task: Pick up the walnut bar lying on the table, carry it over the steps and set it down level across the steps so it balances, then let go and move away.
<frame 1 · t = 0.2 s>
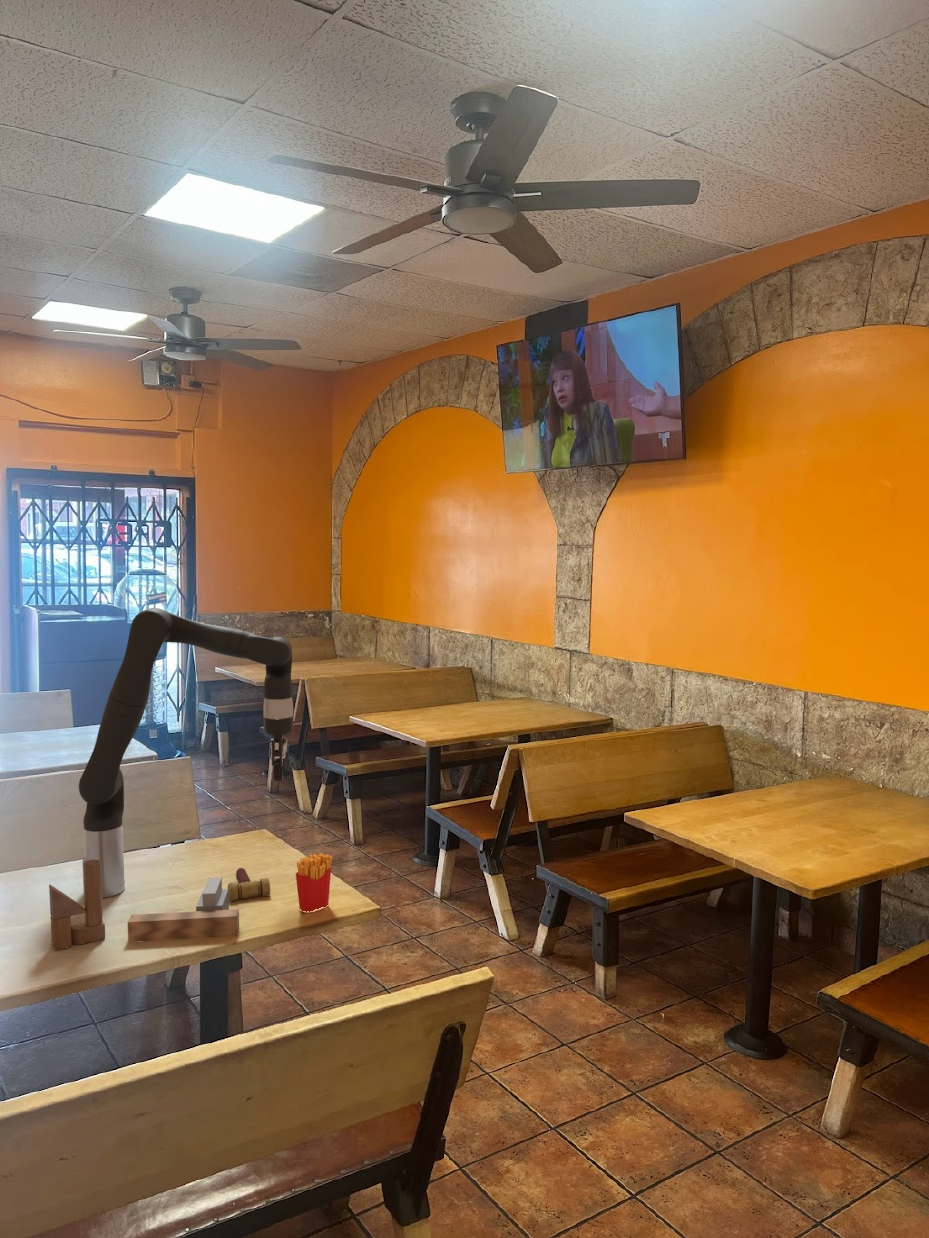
hand: (279, 776, 237), 29 cm above the table, tool pointing down, fingers open, 8 cm apart
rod: (184, 936, 209), on the table
gavel: (244, 887, 239), on the table
french fries: (314, 908, 225), on the table
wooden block: (78, 943, 206), on the table
steps: (213, 917, 219), on the table
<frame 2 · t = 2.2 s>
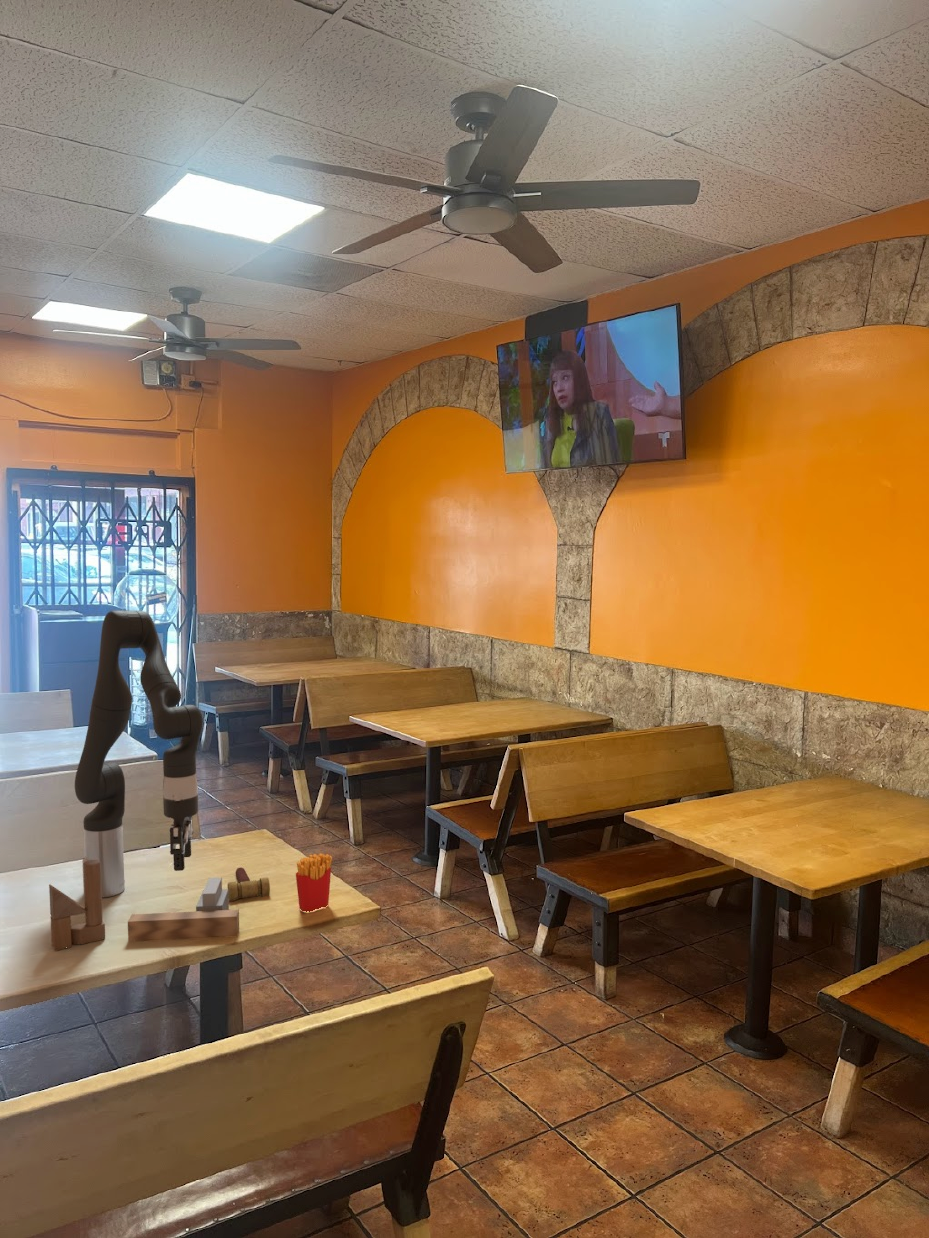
hand: (182, 863, 208), 17 cm above the table, tool pointing down, fingers open, 8 cm apart
nothing on the table moved.
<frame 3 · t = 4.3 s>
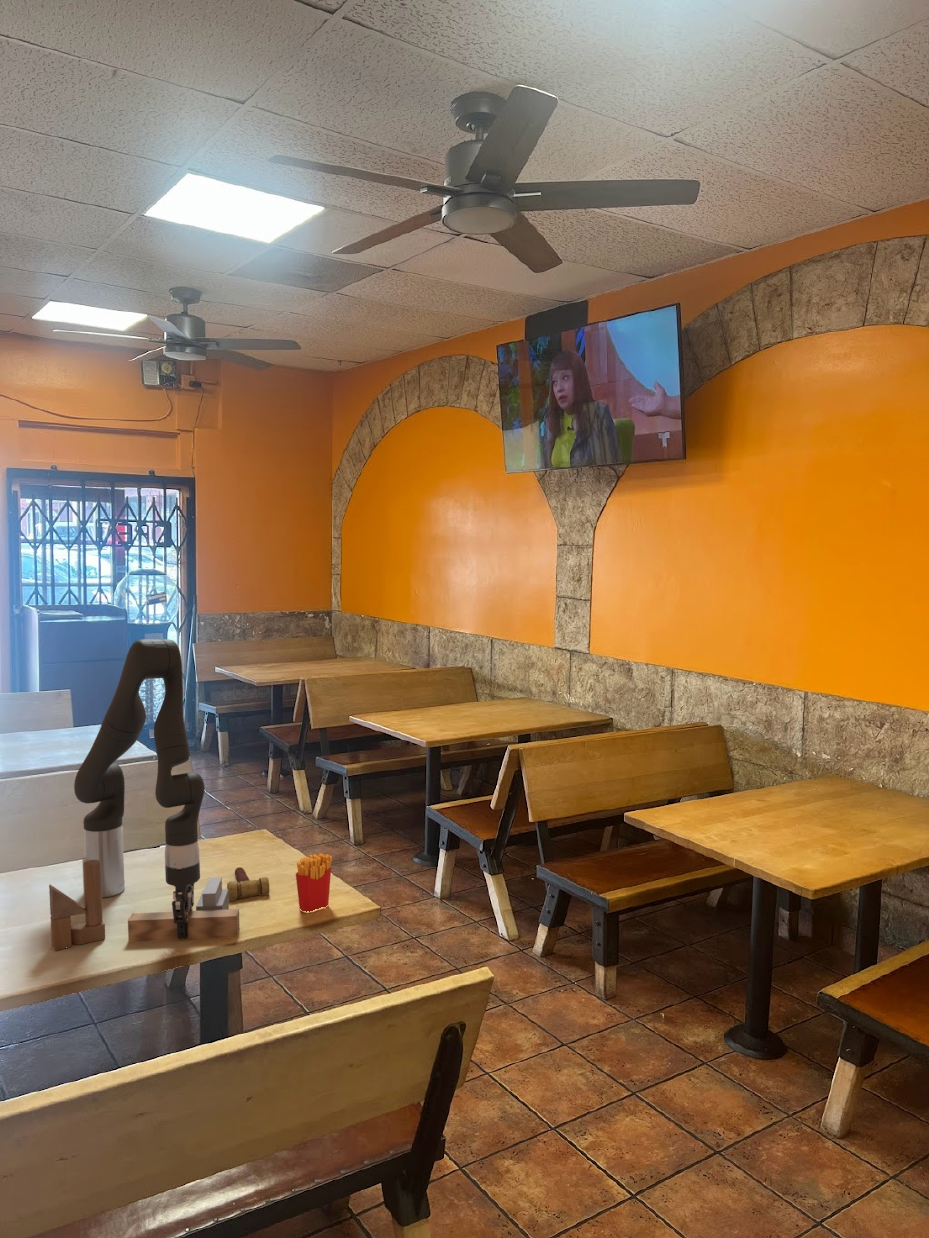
hand: (184, 933, 209), 1 cm above the table, tool pointing down, fingers closed on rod, 4 cm apart
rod: (184, 935, 209), on the table, touching gripper
everything else where it was.
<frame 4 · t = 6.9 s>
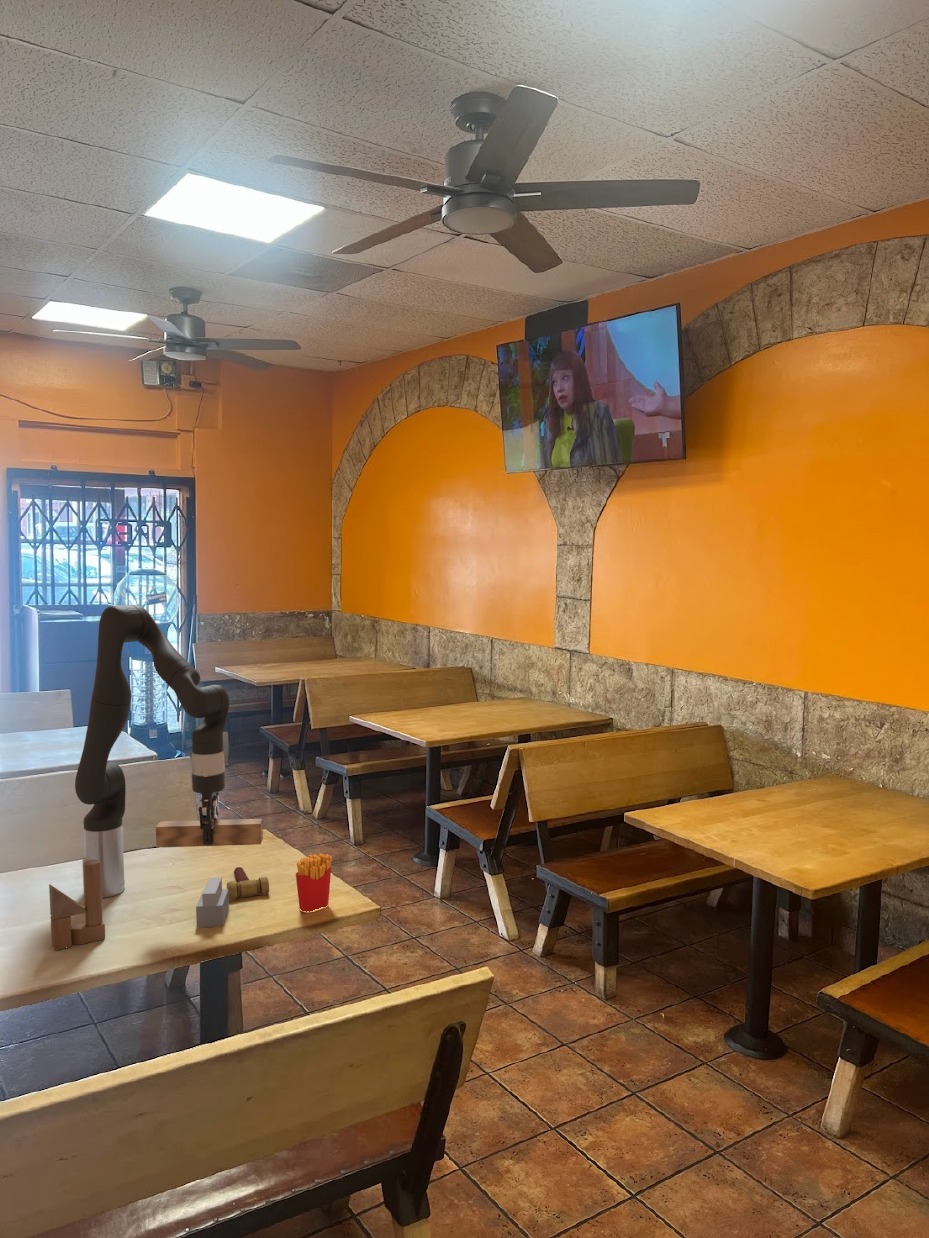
hand: (210, 840, 217), 19 cm above the table, tool pointing down, fingers closed on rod, 4 cm apart
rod: (210, 843, 217), point 18 cm above the table, touching gripper
everything else where it was.
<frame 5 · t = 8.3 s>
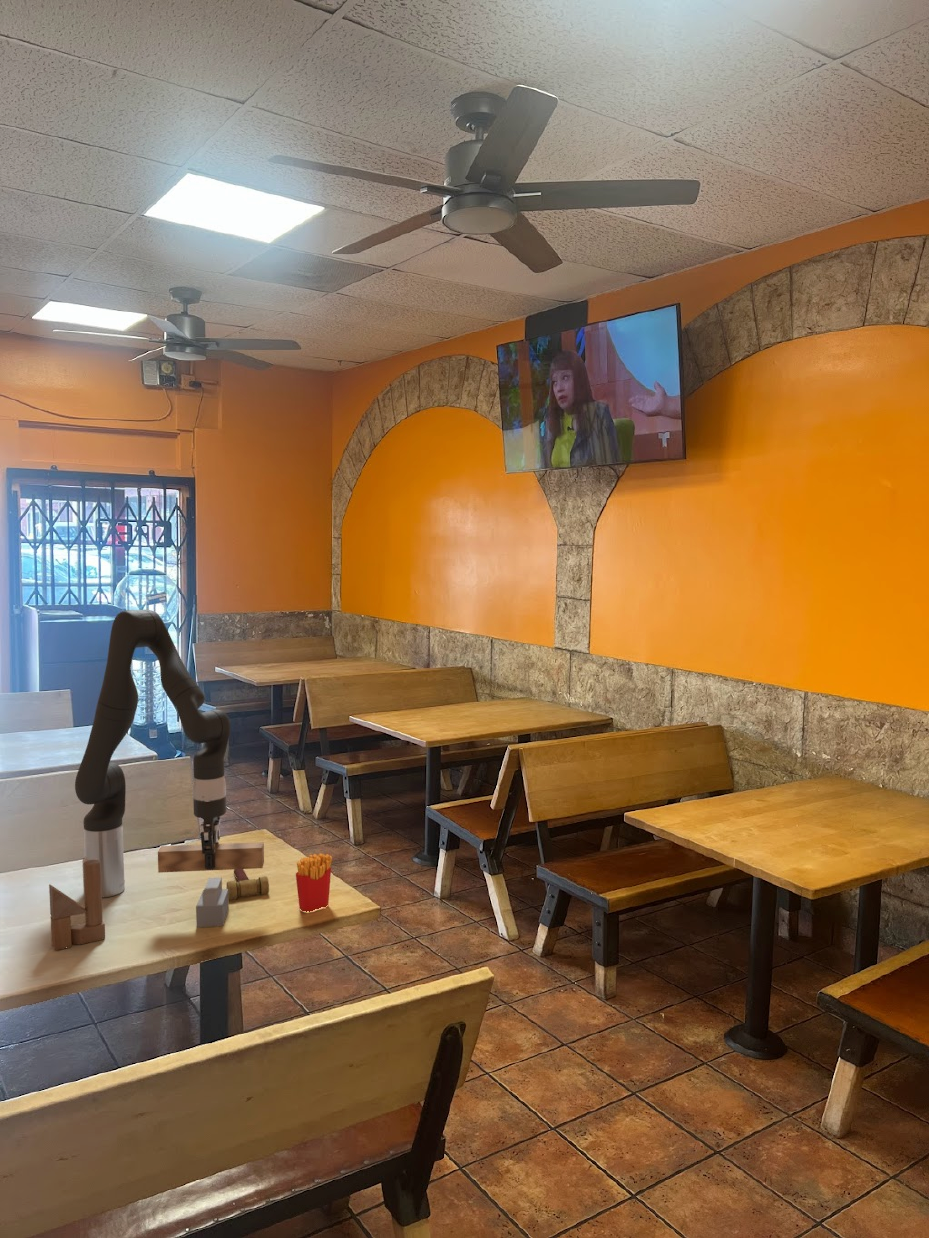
hand: (211, 864, 218), 13 cm above the table, tool pointing down, fingers closed on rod, 4 cm apart
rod: (212, 867, 218), point 12 cm above the table, touching gripper
when the fingers open (9 cm above the table, at t = 9.6 s): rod stays where it is, resting on steps.
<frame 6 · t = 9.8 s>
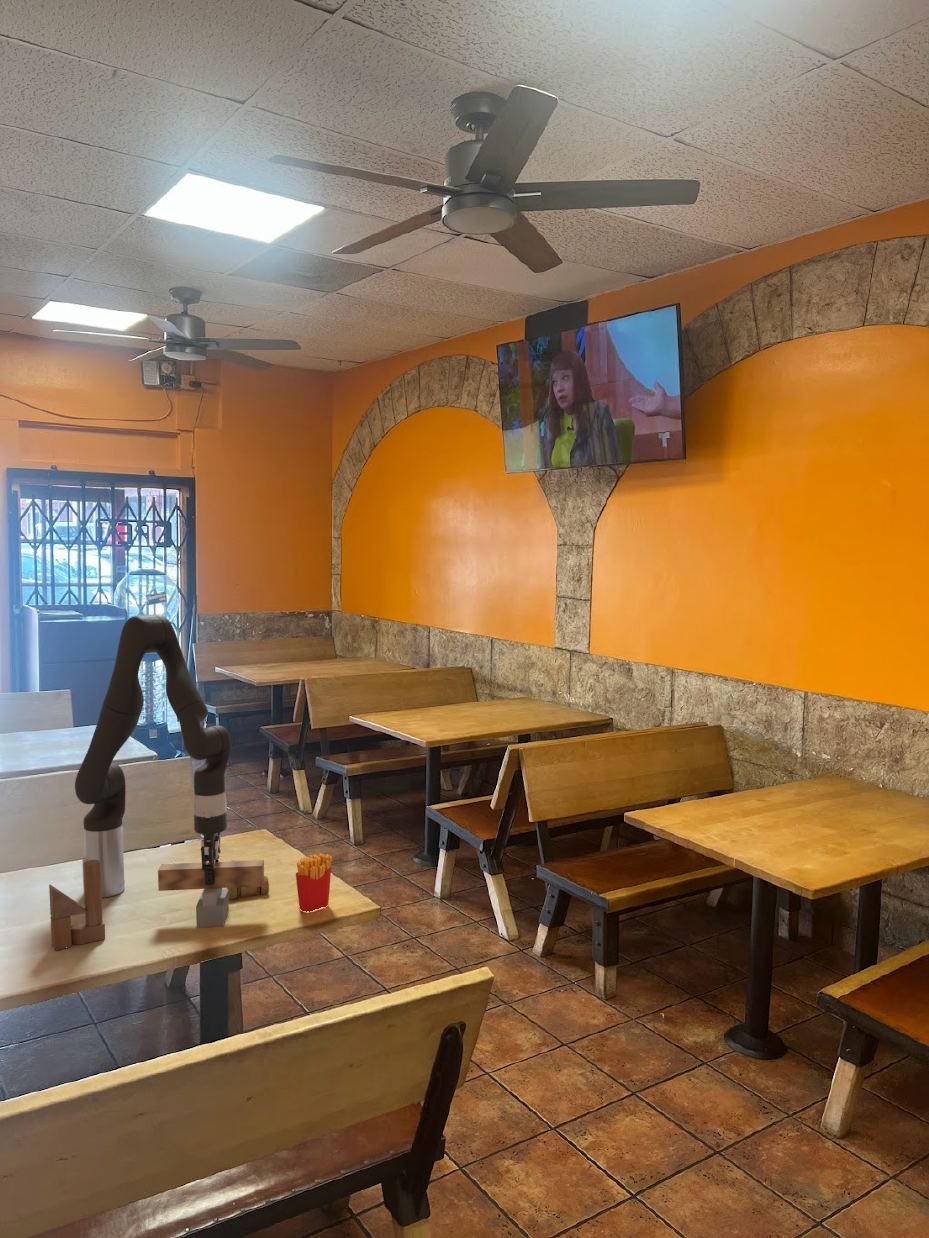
hand: (212, 879, 218), 9 cm above the table, tool pointing down, fingers open, 5 cm apart
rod: (212, 885, 218), point 8 cm above the table, touching steps
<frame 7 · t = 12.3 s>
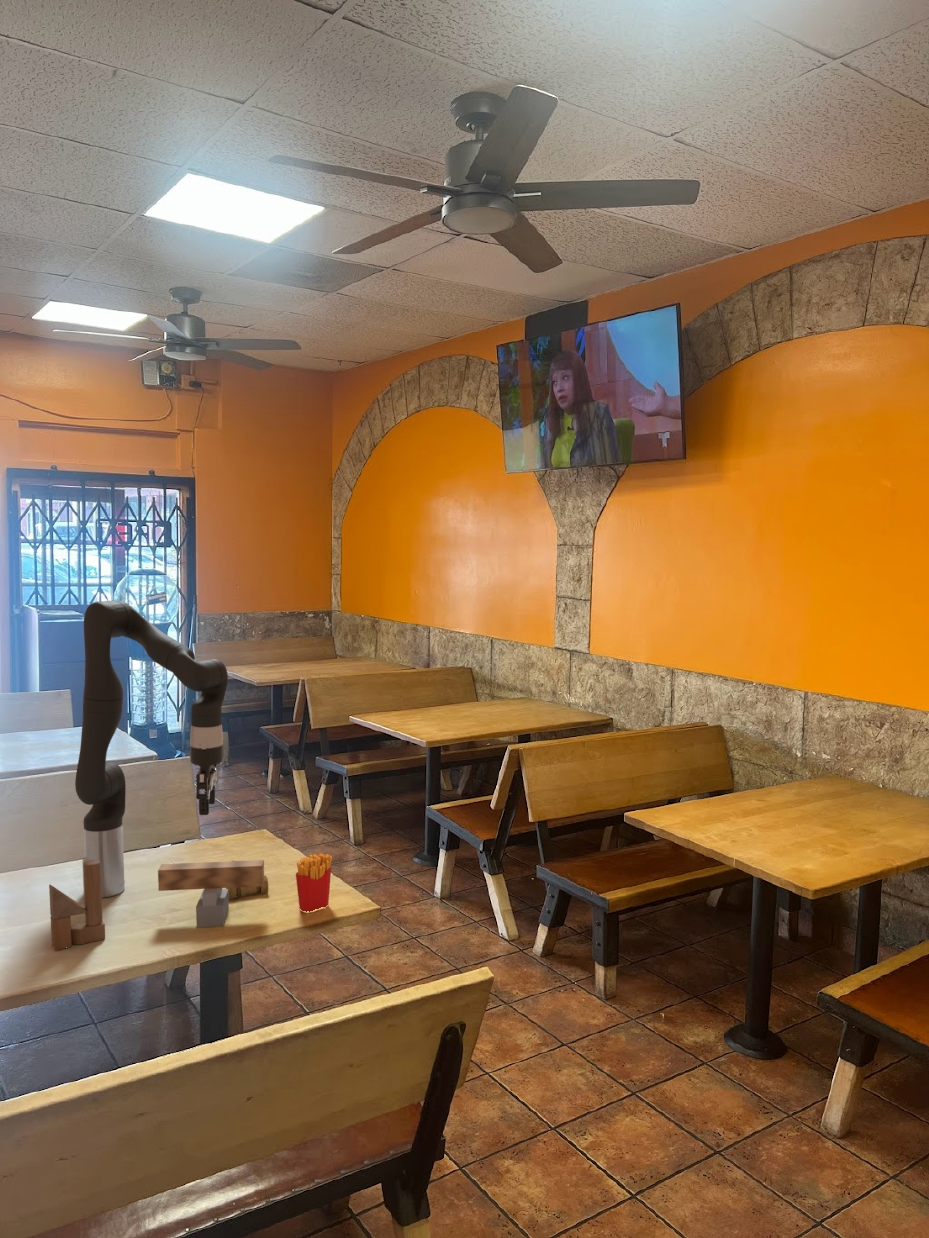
hand: (207, 809, 220), 26 cm above the table, tool pointing down, fingers open, 8 cm apart
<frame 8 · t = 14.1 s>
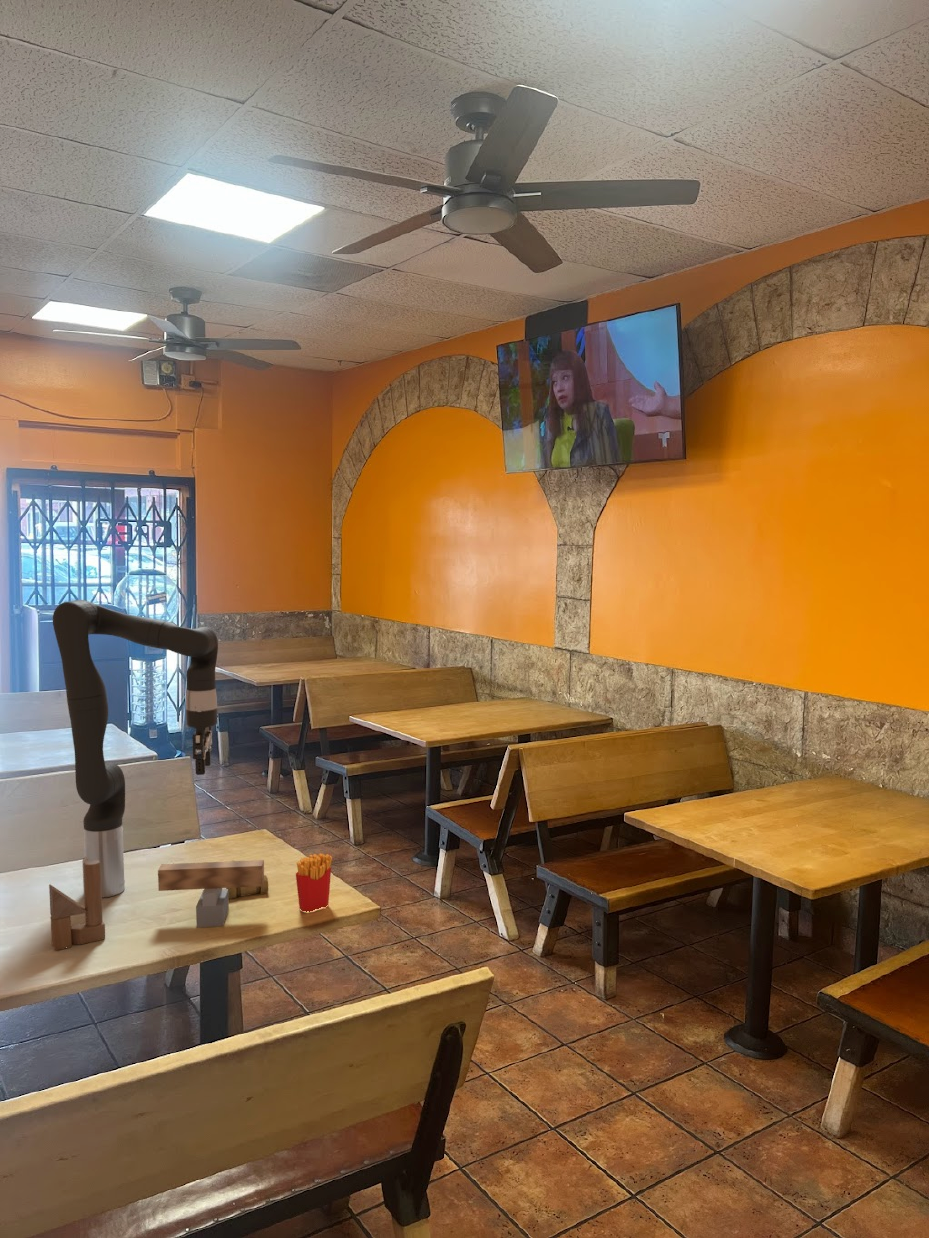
hand: (203, 769, 231), 32 cm above the table, tool pointing down, fingers open, 8 cm apart
at the end: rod inside the target area on the steps (0.1 cm from its centre), point 8.0 cm above the steps's base; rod tilted 0°; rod touching steps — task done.
